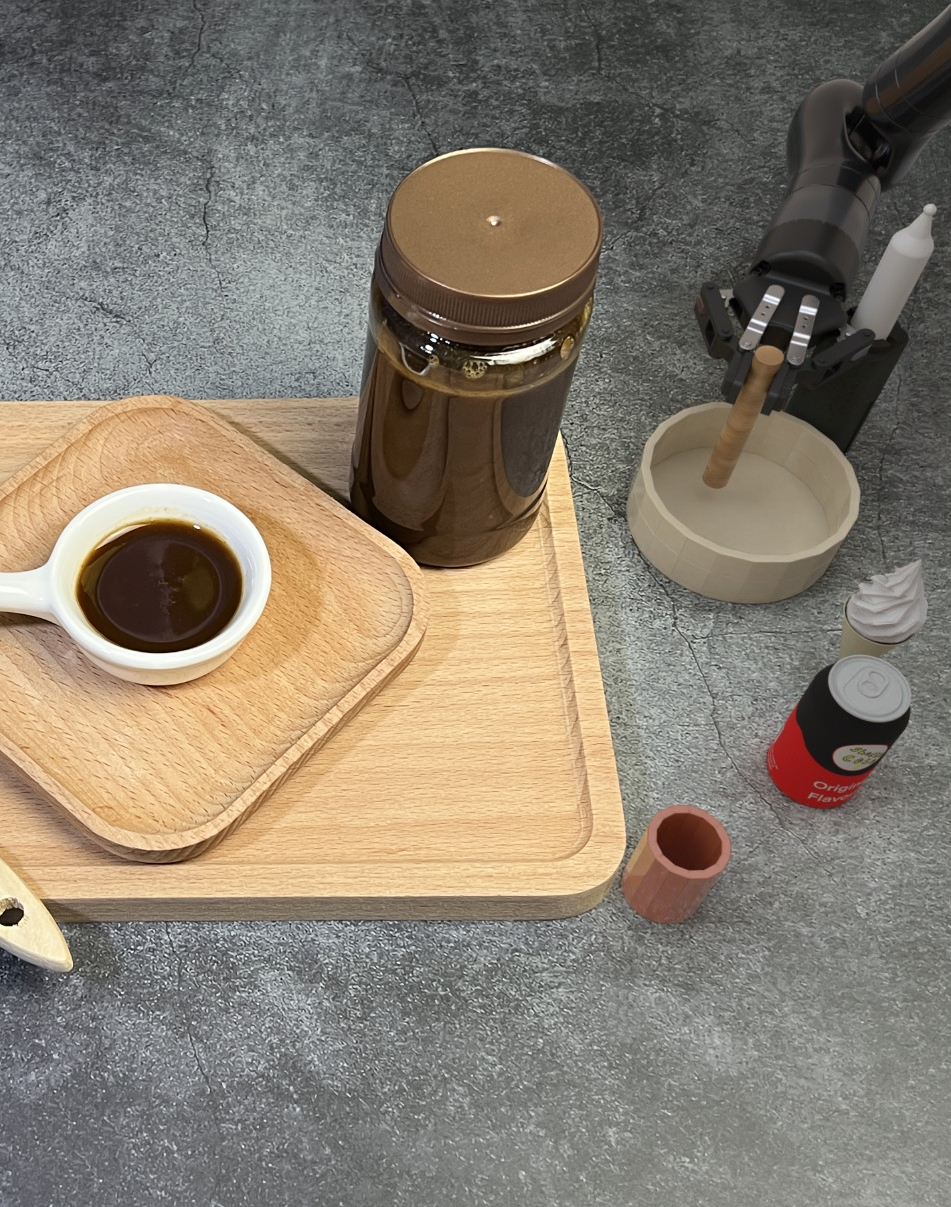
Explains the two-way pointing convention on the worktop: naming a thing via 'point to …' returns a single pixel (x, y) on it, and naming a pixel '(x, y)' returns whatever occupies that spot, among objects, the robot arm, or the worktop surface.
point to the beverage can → (840, 730)
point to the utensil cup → (675, 864)
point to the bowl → (742, 506)
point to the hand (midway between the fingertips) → (751, 401)
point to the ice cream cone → (884, 612)
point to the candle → (856, 390)
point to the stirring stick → (742, 416)
